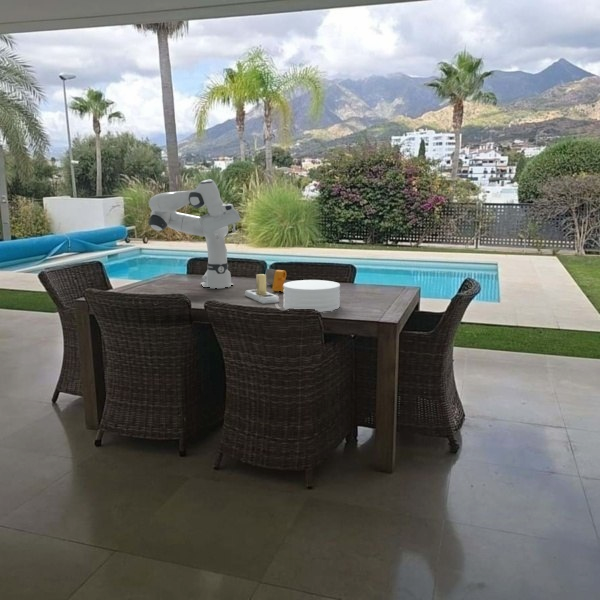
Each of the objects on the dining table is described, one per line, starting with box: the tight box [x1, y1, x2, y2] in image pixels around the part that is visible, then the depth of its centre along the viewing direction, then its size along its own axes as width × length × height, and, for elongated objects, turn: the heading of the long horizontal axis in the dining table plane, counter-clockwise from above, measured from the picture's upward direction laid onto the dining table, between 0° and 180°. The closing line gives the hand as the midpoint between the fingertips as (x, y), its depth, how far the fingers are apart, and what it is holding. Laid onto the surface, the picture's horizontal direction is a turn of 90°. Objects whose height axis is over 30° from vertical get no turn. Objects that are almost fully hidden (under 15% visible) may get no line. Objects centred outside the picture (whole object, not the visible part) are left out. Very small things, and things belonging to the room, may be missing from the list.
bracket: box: [271, 269, 287, 293], centre depth 330 cm, size 11×7×12 cm, turn 152°
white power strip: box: [244, 289, 280, 305], centre depth 308 cm, size 24×9×3 cm, turn 27°
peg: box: [255, 273, 267, 295], centre depth 307 cm, size 4×4×13 cm
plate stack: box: [282, 279, 341, 311], centre depth 288 cm, size 28×28×12 cm
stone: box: [265, 268, 286, 286], centre depth 348 cm, size 15×5×10 cm, turn 47°
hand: (226, 235), depth 306 cm, fingers open, 8 cm apart
